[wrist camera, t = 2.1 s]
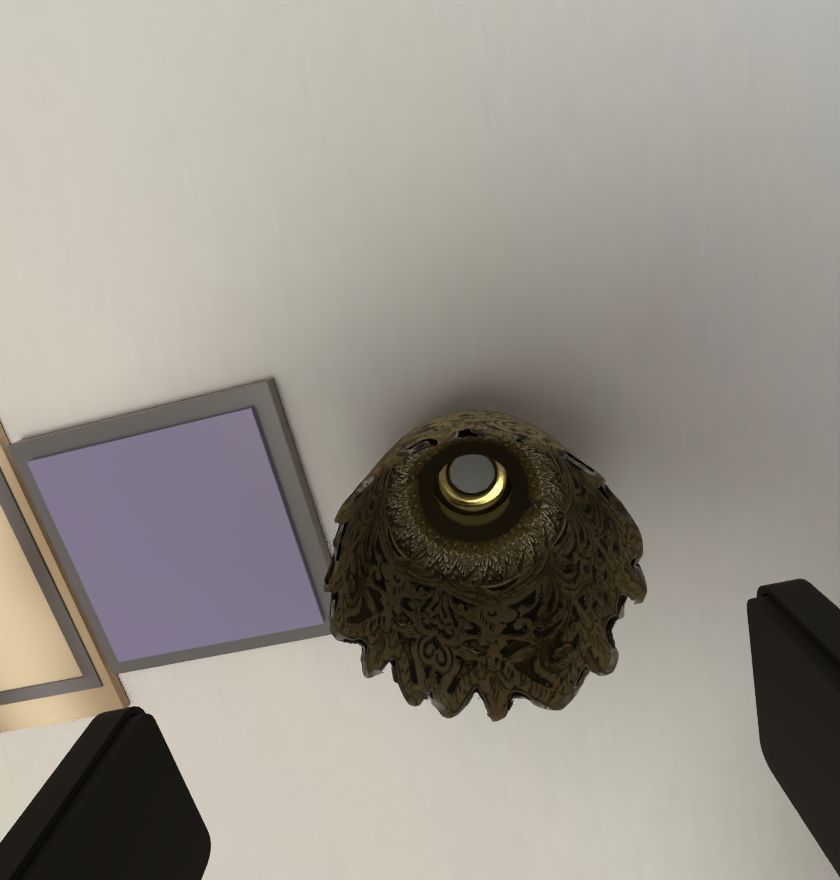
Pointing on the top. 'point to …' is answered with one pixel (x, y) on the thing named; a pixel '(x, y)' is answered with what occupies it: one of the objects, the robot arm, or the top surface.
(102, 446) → the ink pad
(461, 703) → the cup
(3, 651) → the board
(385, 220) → the top surface
